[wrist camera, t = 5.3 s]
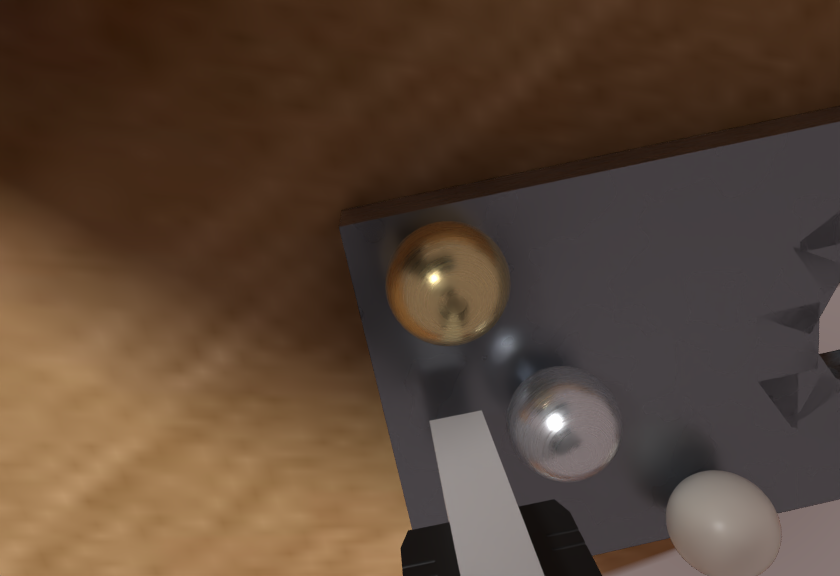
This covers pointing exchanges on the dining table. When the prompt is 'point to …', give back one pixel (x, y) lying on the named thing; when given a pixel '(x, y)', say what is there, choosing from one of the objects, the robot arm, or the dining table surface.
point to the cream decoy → (723, 524)
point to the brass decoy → (447, 283)
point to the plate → (636, 319)
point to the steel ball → (564, 424)
